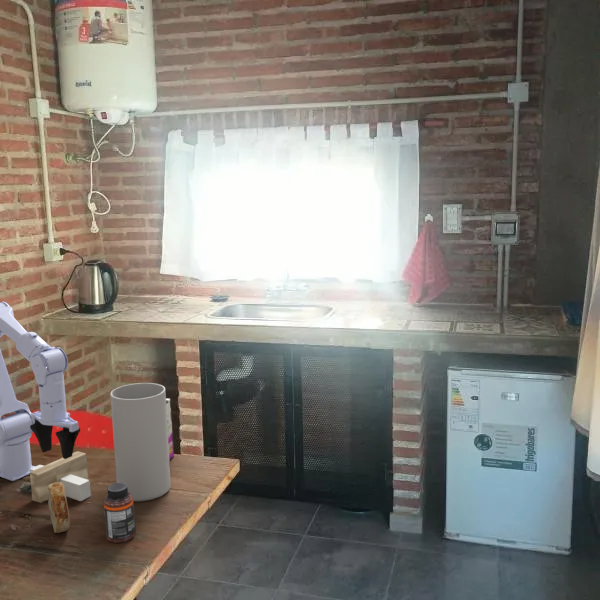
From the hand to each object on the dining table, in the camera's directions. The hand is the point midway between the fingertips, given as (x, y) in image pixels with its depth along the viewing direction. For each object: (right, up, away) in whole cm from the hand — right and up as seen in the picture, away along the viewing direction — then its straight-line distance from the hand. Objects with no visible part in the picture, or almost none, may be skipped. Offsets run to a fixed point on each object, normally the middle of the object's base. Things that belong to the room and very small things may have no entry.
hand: (57, 454), depth 160 cm
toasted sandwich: (+7, -12, -16) cm, 21 cm away
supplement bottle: (+21, -13, -20) cm, 32 cm away
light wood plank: (0, -9, +2) cm, 9 cm away
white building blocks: (0, -9, +2) cm, 9 cm away
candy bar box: (+21, -6, +16) cm, 27 cm away
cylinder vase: (+21, -9, +1) cm, 23 cm away
